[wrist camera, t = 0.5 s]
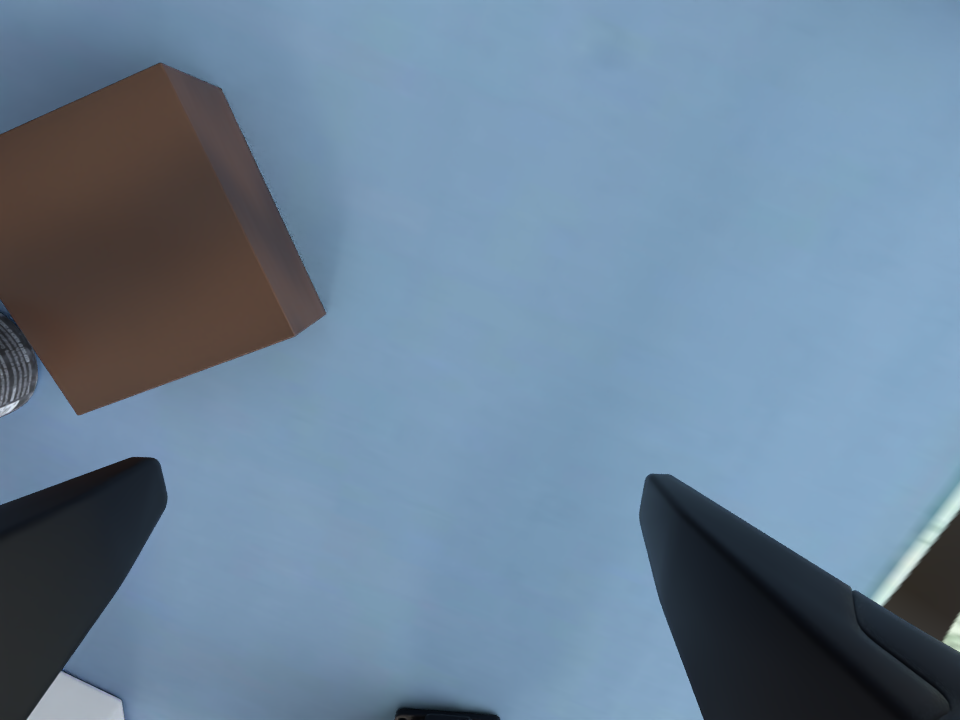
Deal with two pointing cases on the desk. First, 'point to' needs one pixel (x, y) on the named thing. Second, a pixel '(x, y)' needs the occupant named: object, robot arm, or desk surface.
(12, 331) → the pill bottle
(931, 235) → the desk surface
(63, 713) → the jar
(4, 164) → the block
